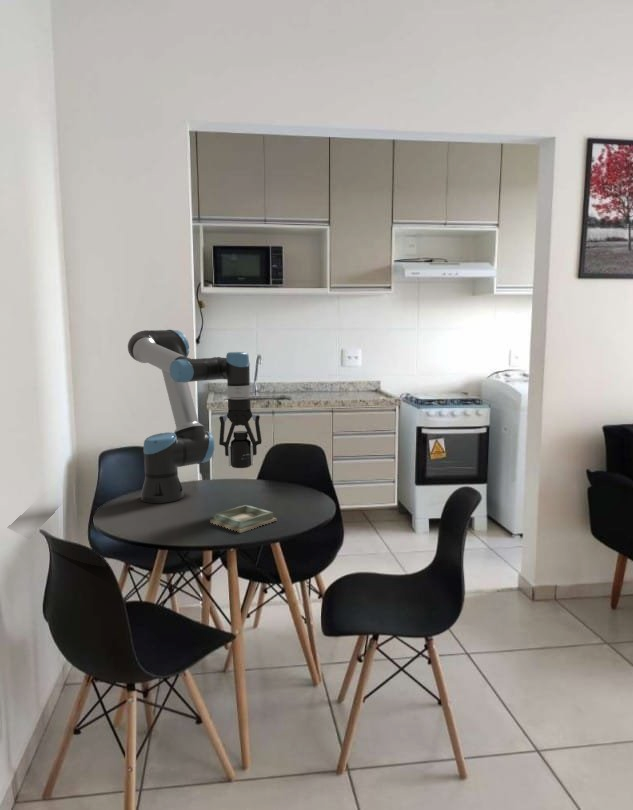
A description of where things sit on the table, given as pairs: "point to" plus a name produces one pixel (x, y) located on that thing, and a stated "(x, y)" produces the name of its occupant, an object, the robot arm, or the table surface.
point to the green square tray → (243, 518)
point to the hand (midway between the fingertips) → (241, 464)
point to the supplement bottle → (240, 450)
